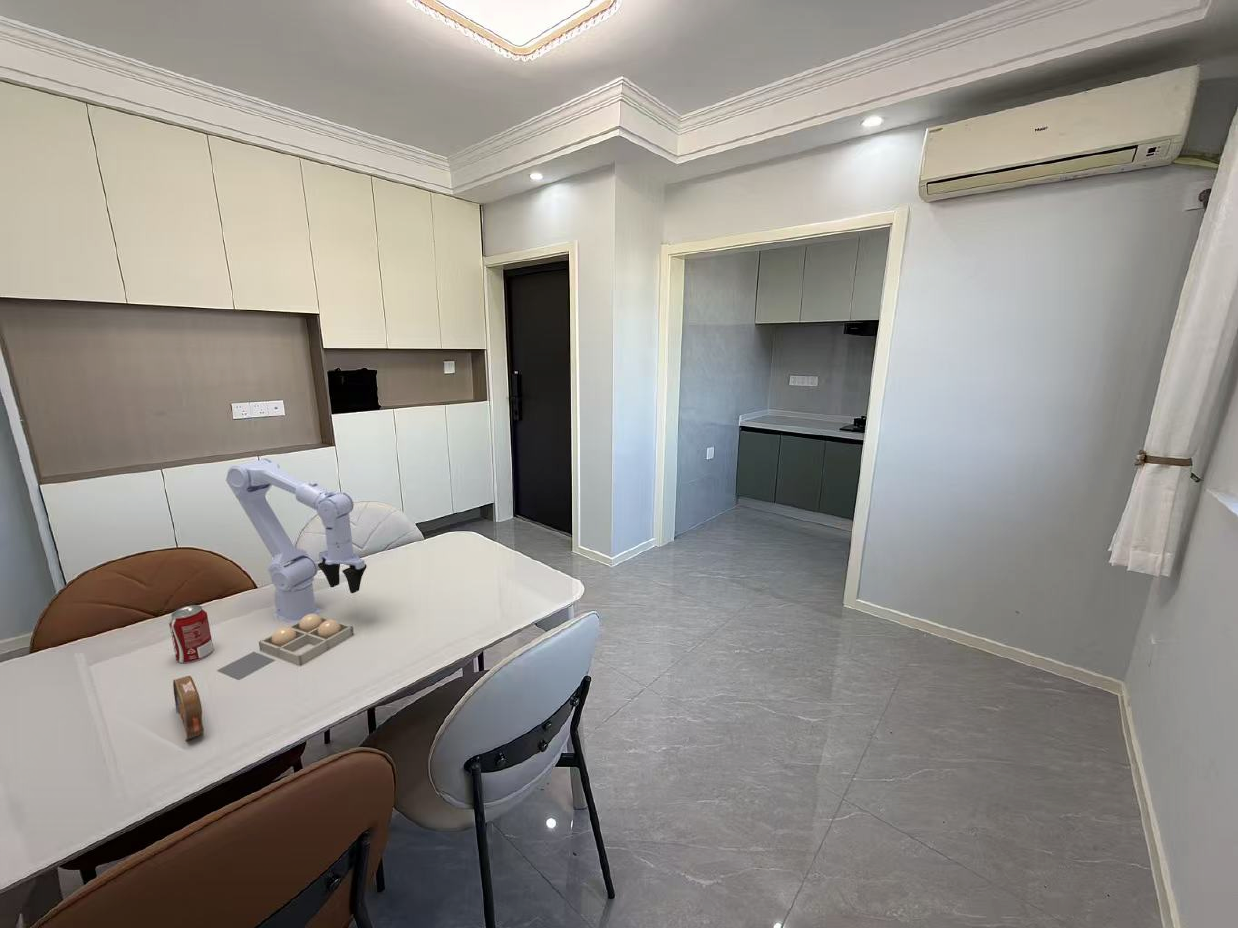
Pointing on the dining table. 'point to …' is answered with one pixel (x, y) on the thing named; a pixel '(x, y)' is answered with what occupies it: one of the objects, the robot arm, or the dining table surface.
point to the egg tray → (303, 639)
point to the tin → (188, 705)
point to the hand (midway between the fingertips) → (344, 588)
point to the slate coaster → (245, 665)
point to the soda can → (190, 634)
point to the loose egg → (283, 636)
